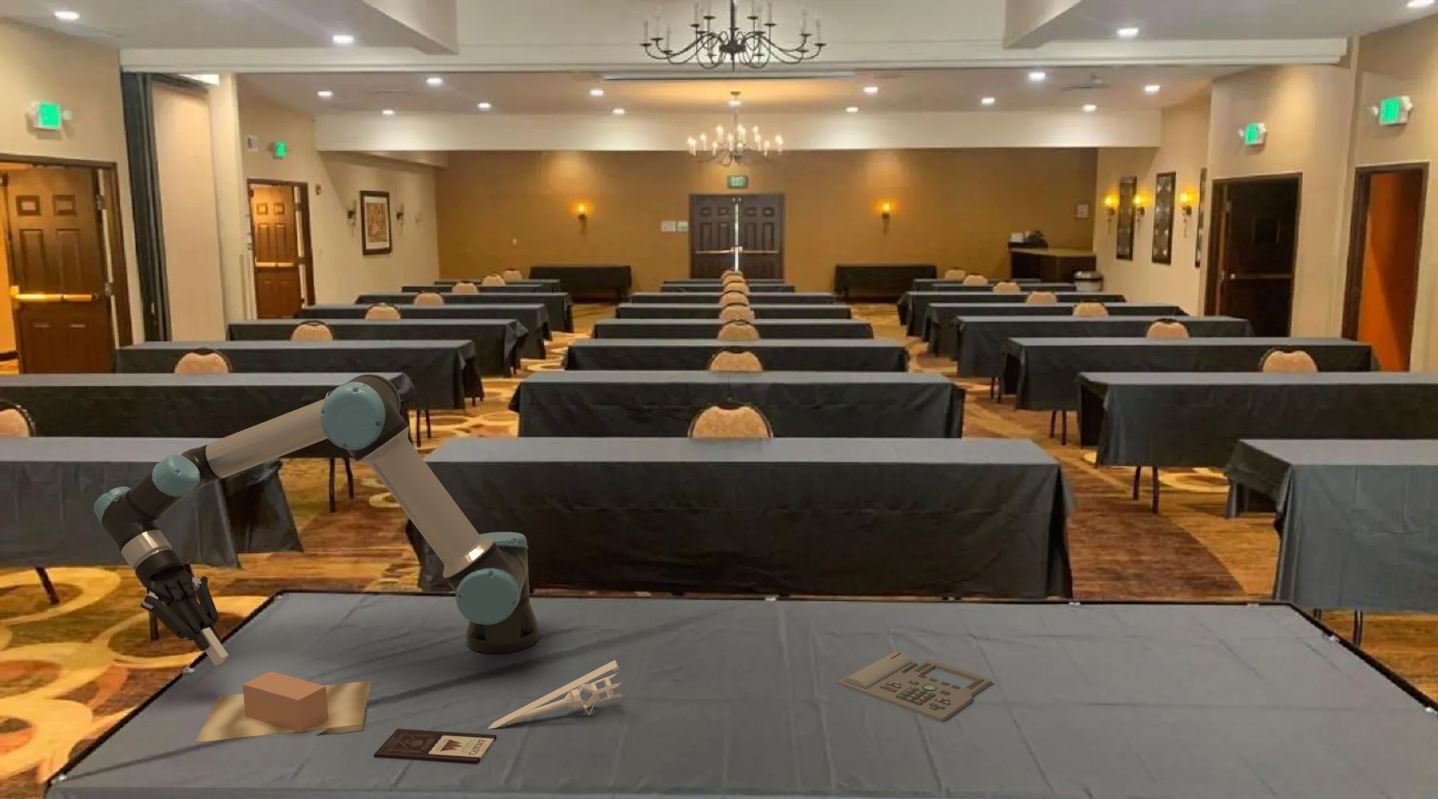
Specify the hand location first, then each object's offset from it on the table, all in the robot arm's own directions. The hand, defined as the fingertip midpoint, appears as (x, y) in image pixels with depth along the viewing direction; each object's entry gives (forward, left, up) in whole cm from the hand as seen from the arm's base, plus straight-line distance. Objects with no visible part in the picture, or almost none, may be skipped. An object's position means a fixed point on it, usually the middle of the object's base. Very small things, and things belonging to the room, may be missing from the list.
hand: (221, 660), depth 195 cm
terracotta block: (-7, +6, -5) cm, 10 cm away
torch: (-60, +19, -9) cm, 64 cm away
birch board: (-12, +7, -9) cm, 17 cm away
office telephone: (-127, +22, -10) cm, 129 cm away
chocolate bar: (-38, +25, -9) cm, 47 cm away
